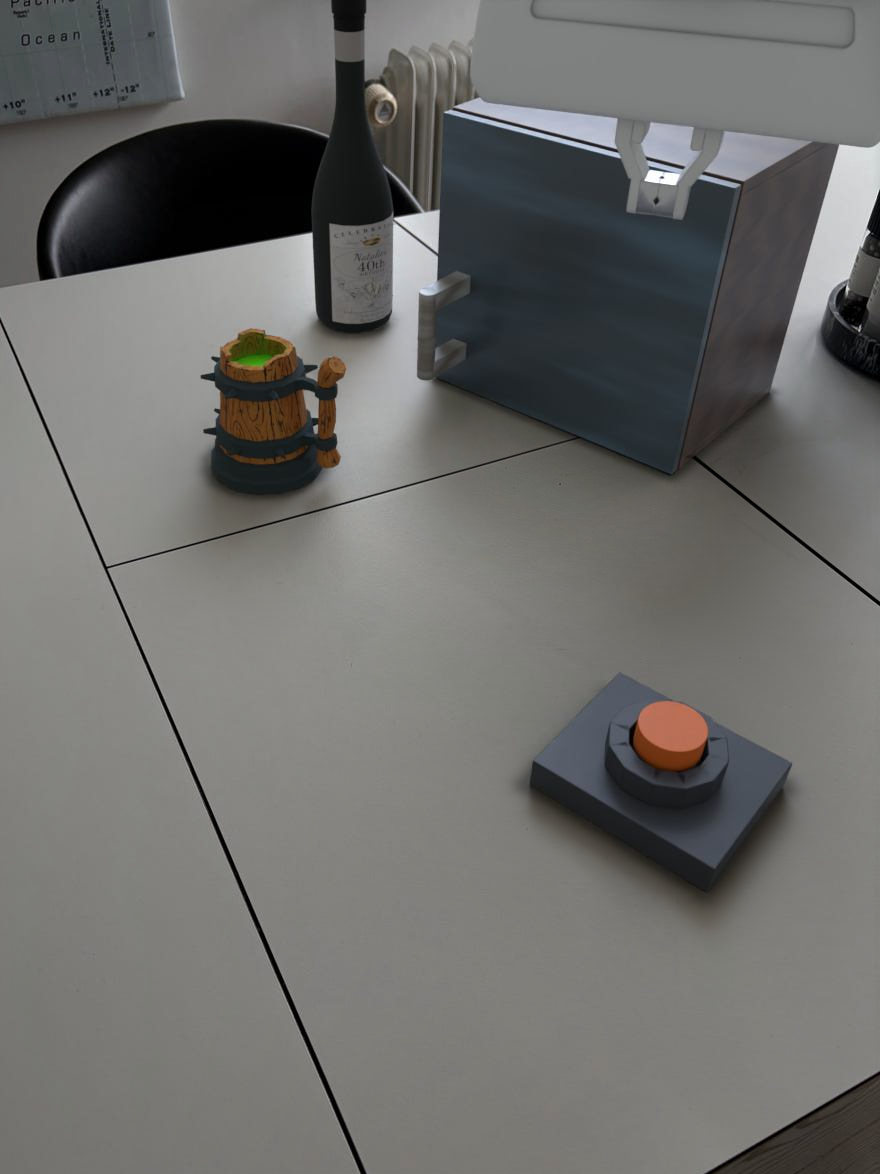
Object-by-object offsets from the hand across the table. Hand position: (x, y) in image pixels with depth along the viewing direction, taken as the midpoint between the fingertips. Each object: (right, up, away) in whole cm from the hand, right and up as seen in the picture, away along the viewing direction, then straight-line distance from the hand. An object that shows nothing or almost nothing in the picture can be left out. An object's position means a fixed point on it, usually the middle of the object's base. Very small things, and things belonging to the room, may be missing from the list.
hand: (655, 213), depth 54 cm
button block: (+2, -31, +10) cm, 33 cm away
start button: (+2, -28, +7) cm, 29 cm away
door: (-2, -4, +39) cm, 39 cm away
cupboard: (+6, +3, +46) cm, 47 cm away
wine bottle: (-18, +11, +56) cm, 60 cm away
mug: (-23, -8, +35) cm, 43 cm away
